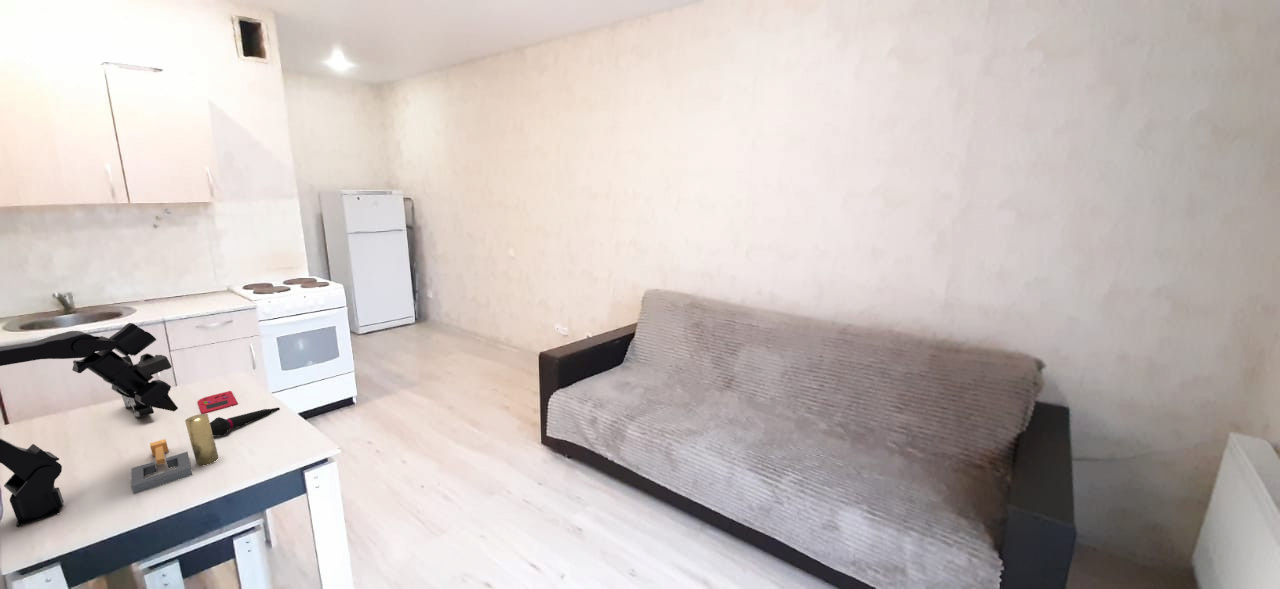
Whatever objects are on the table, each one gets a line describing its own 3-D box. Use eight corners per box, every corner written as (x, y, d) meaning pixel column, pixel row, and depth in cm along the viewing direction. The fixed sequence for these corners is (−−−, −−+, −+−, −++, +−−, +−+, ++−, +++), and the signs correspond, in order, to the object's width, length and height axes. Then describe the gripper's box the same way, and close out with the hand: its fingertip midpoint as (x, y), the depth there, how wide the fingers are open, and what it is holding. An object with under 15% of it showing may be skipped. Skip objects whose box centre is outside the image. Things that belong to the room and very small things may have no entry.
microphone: (276, 417, 167) (206, 440, 149) (271, 401, 167) (201, 422, 148) (286, 415, 165) (216, 438, 146) (281, 398, 165) (211, 419, 146)
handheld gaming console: (230, 389, 180) (237, 402, 170) (231, 393, 180) (238, 406, 170) (195, 398, 173) (201, 412, 163) (196, 402, 174) (202, 416, 164)
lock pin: (153, 469, 133) (150, 459, 132) (152, 452, 141) (150, 443, 140) (170, 464, 135) (167, 454, 134) (168, 448, 143) (165, 438, 142)
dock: (133, 494, 123) (131, 486, 122) (133, 475, 131) (131, 468, 130) (192, 475, 130) (190, 467, 130) (189, 458, 138) (187, 451, 137)
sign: (129, 418, 169) (109, 362, 168) (142, 414, 172) (123, 359, 171) (140, 417, 156) (118, 355, 155) (154, 412, 158) (133, 352, 157)
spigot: (197, 468, 133) (185, 424, 130) (196, 461, 137) (184, 418, 133) (219, 461, 136) (208, 417, 133) (217, 454, 140) (206, 412, 136)
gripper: (163, 351, 126) (213, 388, 136) (132, 340, 134) (180, 377, 144) (117, 386, 119) (173, 423, 129) (87, 373, 127) (141, 408, 137)
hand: (168, 406), depth 135 cm, fingers open, 9 cm apart
